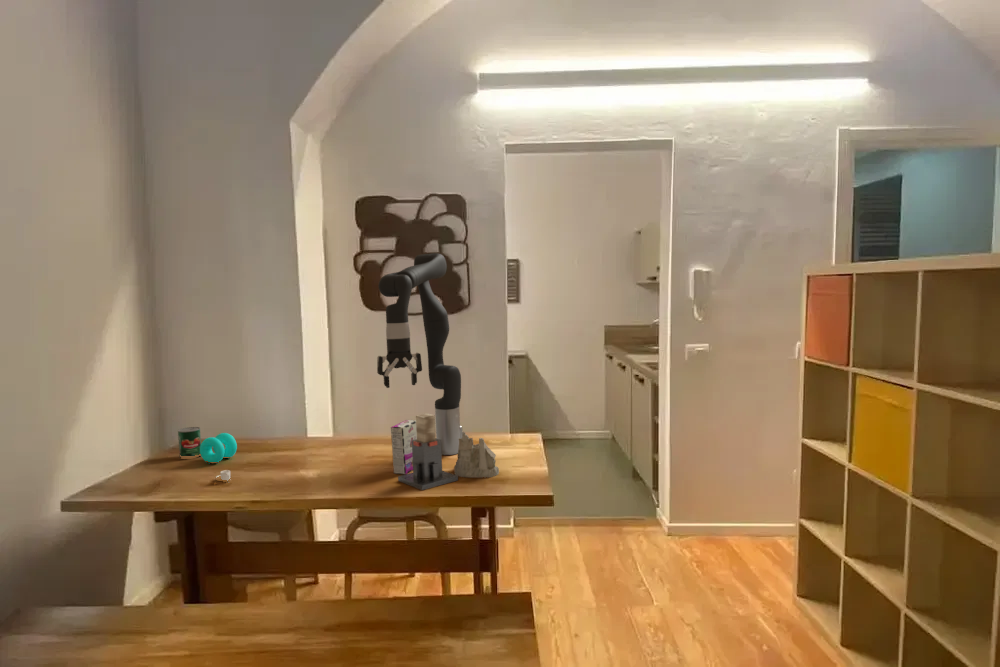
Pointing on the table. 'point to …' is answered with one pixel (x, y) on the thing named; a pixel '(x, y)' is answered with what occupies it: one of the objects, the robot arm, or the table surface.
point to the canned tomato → (189, 441)
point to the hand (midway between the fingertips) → (400, 386)
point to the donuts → (218, 447)
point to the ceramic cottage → (475, 459)
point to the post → (425, 428)
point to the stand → (427, 466)
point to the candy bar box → (403, 446)
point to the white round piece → (224, 475)
